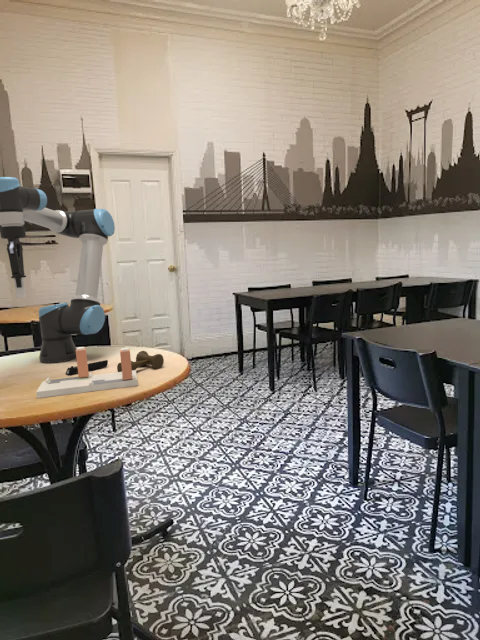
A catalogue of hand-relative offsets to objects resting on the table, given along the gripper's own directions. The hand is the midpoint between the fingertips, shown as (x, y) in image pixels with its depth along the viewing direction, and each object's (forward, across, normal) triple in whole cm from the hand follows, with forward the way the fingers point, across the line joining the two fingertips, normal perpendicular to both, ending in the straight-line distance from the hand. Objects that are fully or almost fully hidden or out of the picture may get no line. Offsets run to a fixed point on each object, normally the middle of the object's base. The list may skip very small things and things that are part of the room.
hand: (21, 297), depth 157 cm
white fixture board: (+29, +16, +20) cm, 39 cm away
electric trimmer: (+30, -7, +18) cm, 35 cm away
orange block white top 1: (+27, +11, +18) cm, 35 cm away
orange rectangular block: (+27, +21, +32) cm, 47 cm away
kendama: (+30, +1, +38) cm, 48 cm away
